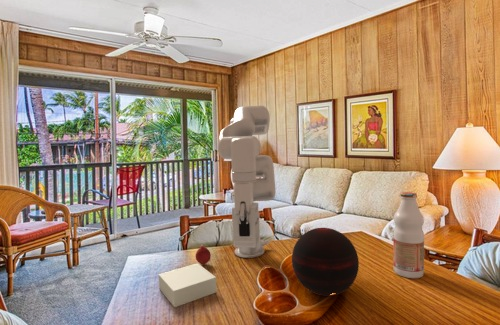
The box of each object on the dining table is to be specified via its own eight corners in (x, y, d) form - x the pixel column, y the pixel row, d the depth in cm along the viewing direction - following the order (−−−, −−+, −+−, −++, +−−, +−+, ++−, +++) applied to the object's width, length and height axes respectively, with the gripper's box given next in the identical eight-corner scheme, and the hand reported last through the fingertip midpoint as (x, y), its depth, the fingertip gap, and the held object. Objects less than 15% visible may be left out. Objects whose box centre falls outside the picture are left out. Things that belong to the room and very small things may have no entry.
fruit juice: (402, 279, 101) (402, 196, 98) (388, 267, 110) (388, 191, 108) (430, 278, 101) (430, 195, 99) (413, 266, 110) (414, 190, 108)
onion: (213, 262, 121) (212, 243, 120) (206, 268, 115) (205, 248, 115) (200, 261, 123) (199, 241, 122) (193, 267, 117) (192, 247, 116)
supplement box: (256, 248, 93) (254, 208, 92) (232, 247, 95) (231, 207, 93) (260, 239, 101) (258, 202, 99) (238, 238, 102) (236, 201, 101)
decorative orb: (292, 308, 87) (291, 239, 85) (292, 276, 106) (291, 220, 105) (366, 311, 84) (365, 240, 82) (351, 277, 104) (351, 220, 102)
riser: (198, 276, 109) (197, 263, 108) (216, 292, 97) (215, 277, 97) (159, 288, 101) (158, 274, 101) (174, 307, 90) (173, 291, 89)
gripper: (236, 173, 104) (238, 223, 106) (227, 182, 87) (229, 241, 89) (258, 172, 103) (260, 222, 105) (253, 181, 86) (255, 241, 88)
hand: (246, 231), depth 97 cm, fingers closed on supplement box, 7 cm apart
